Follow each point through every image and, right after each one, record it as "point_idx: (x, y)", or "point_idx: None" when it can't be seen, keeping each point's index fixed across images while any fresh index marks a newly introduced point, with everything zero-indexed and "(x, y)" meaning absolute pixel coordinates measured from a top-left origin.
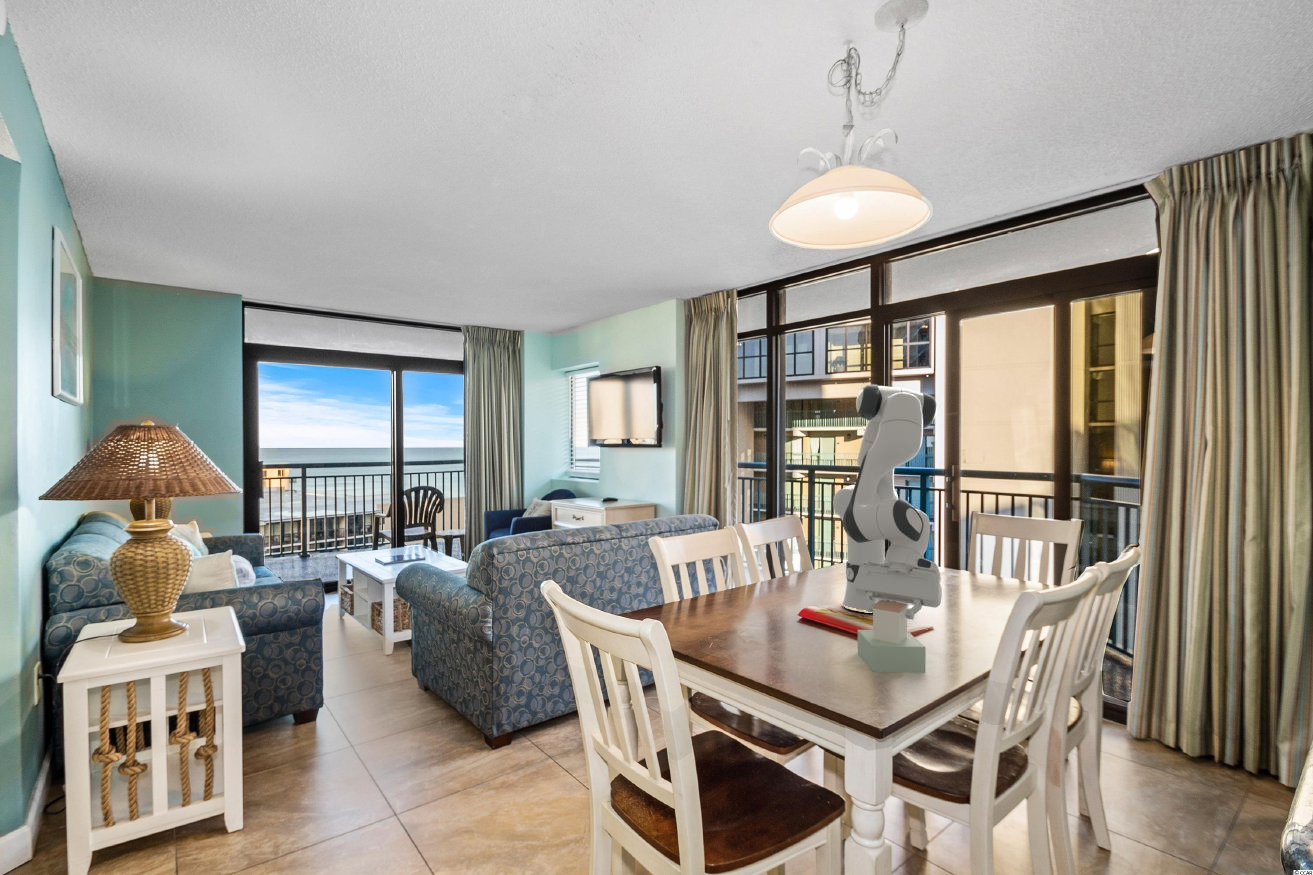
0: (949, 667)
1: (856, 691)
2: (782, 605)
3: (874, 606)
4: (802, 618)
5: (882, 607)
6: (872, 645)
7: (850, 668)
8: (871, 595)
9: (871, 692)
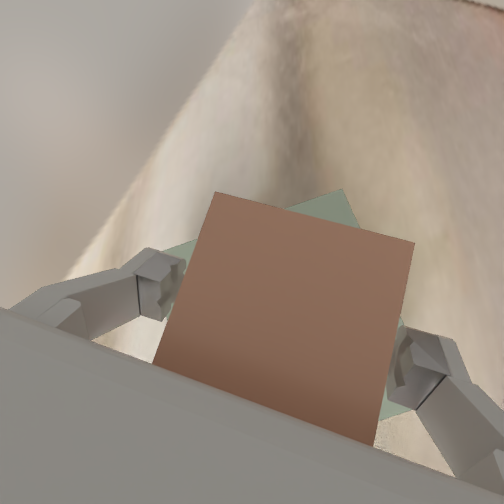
0: (111, 340)
1: (350, 80)
2: None
3: (398, 243)
4: None
5: (334, 224)
6: (342, 195)
7: (390, 220)
8: (495, 454)
9: (316, 88)
